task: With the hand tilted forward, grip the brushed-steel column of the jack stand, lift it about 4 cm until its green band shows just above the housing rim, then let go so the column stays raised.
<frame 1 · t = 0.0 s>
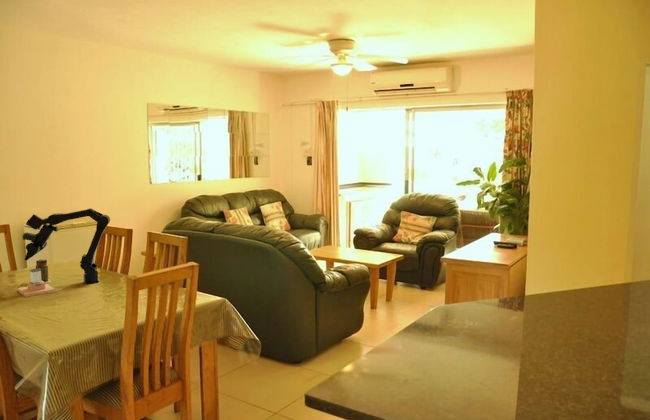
hand: (28, 258, 273), 15 cm above the table, tool tilted 35°, fingers open, 9 cm apart
column: (36, 279, 263), point 7 cm above the table, slide at 0.0 cm
stand: (36, 291, 263), on the table
condiment: (42, 281, 283), on the table
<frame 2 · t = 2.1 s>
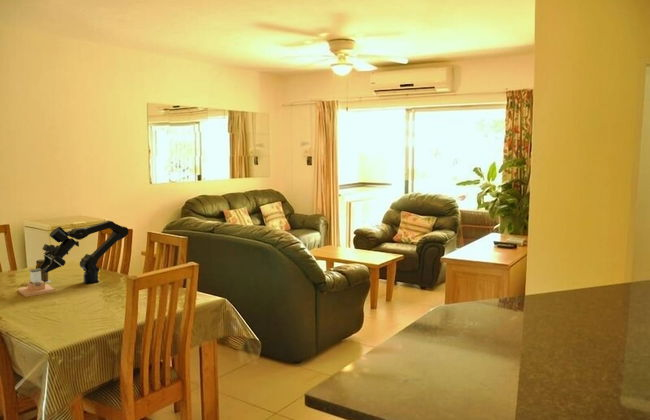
hand: (42, 270, 264), 11 cm above the table, tool tilted 45°, fingers open, 9 cm apart
nothing on the table moved.
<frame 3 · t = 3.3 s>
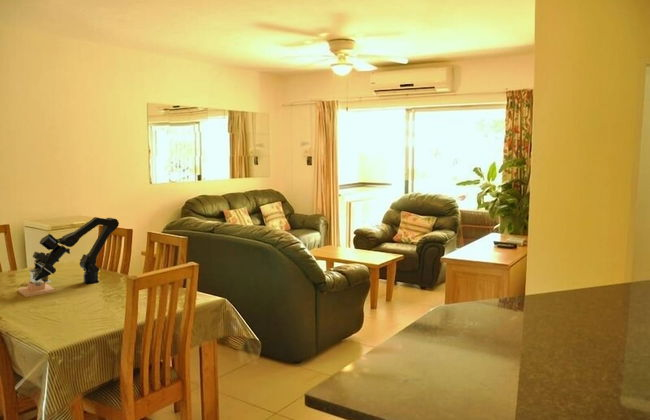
hand: (32, 278, 262), 7 cm above the table, tool tilted 45°, fingers open, 9 cm apart
nothing on the table moved.
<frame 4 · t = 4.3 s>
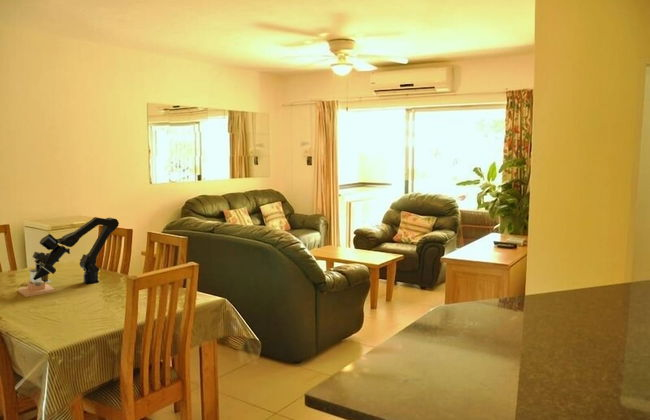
hand: (32, 278, 262), 7 cm above the table, tool tilted 45°, fingers closed on column, 4 cm apart
column: (36, 279, 263), point 7 cm above the table, slide at 0.0 cm, touching gripper
everything else where it was.
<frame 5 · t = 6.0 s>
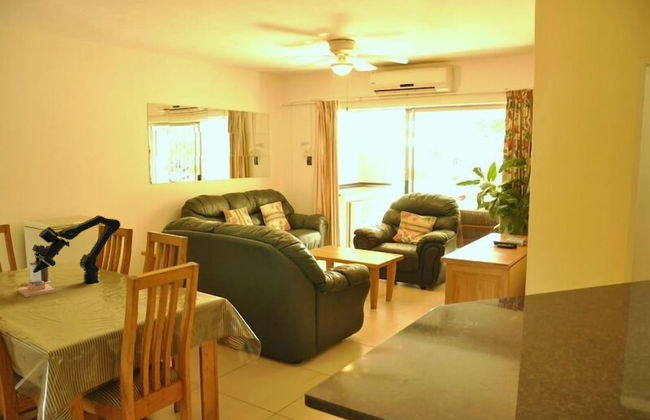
hand: (32, 271, 261), 11 cm above the table, tool tilted 45°, fingers closed on column, 4 cm apart
column: (35, 272, 262), point 10 cm above the table, slide at 3.7 cm, touching gripper
everything else where it was.
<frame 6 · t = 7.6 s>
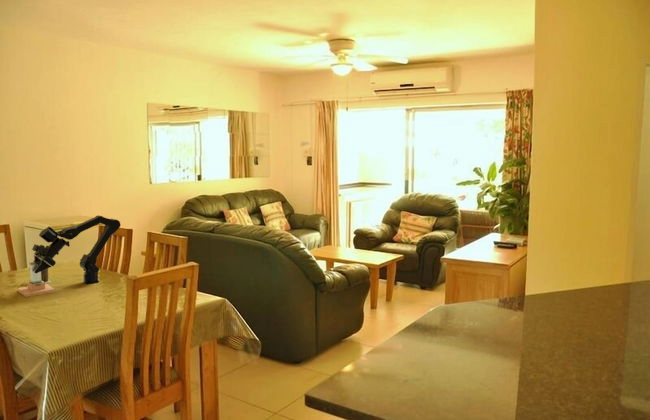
hand: (32, 271, 261), 11 cm above the table, tool tilted 45°, fingers open, 9 cm apart
column: (35, 272, 262), point 10 cm above the table, slide at 3.8 cm
everything else where it was.
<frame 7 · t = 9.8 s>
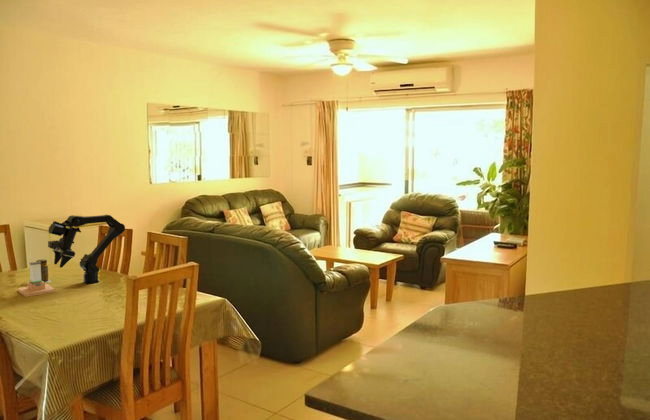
hand: (57, 265, 269), 12 cm above the table, tool tilted 20°, fingers open, 9 cm apart
nothing on the table moved.
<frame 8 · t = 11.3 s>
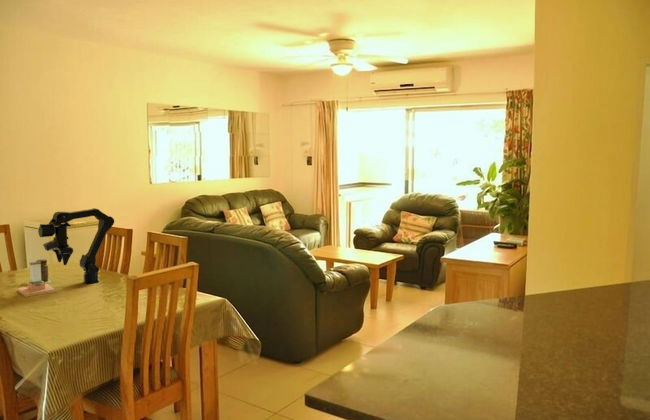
hand: (62, 263, 271), 13 cm above the table, tool pointing down, fingers open, 9 cm apart
nothing on the table moved.
at the end: column slide at 3.8 cm; the gripper is holding nothing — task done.
